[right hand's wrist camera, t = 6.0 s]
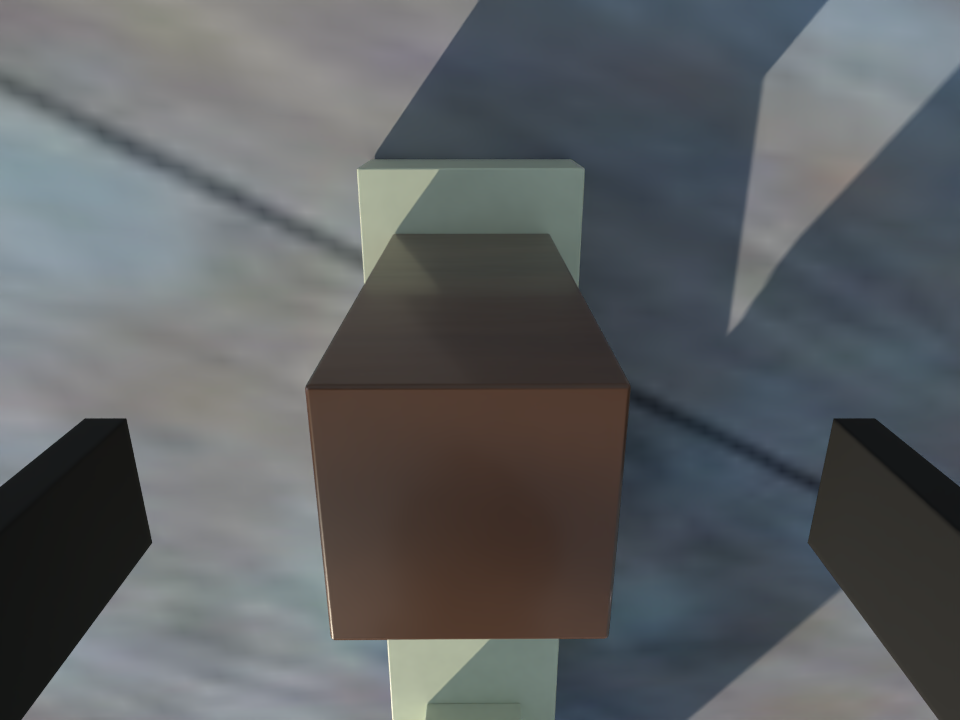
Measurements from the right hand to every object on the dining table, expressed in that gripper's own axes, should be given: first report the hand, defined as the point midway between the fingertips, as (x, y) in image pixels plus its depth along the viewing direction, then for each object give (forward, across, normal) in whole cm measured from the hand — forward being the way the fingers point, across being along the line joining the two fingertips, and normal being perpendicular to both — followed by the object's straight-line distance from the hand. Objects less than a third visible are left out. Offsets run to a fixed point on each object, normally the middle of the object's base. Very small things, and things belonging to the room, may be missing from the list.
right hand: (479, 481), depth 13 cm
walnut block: (+10, 0, 0) cm, 10 cm away
